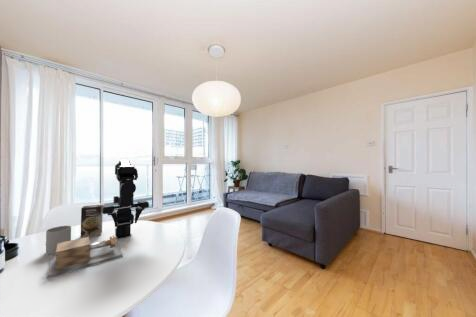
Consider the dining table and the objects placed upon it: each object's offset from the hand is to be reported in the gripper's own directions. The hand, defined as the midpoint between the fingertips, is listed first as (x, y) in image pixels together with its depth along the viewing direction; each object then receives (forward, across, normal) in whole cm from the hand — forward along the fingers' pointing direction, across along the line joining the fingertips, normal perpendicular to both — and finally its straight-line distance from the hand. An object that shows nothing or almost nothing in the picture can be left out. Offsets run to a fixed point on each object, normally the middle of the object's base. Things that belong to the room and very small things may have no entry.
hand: (126, 224), depth 90 cm
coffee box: (+11, +11, -31) cm, 35 cm away
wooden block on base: (+11, +14, 0) cm, 18 cm away
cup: (+11, +24, -18) cm, 32 cm away
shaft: (+9, +12, 0) cm, 15 cm away
